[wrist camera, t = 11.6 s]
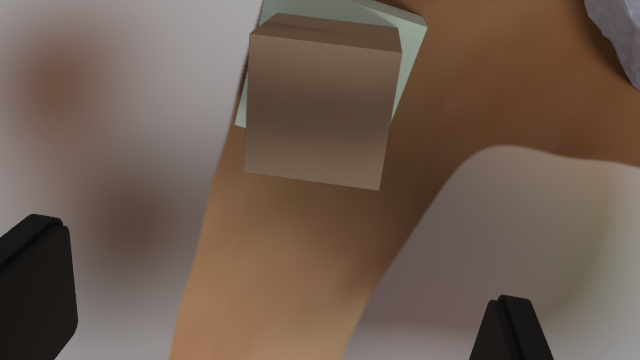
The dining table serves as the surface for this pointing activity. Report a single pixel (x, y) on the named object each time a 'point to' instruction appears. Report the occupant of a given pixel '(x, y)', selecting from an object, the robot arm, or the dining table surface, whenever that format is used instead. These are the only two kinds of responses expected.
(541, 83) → the dining table surface
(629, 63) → the stone block
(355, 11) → the sage block
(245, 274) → the dining table surface
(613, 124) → the dining table surface
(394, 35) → the walnut block
